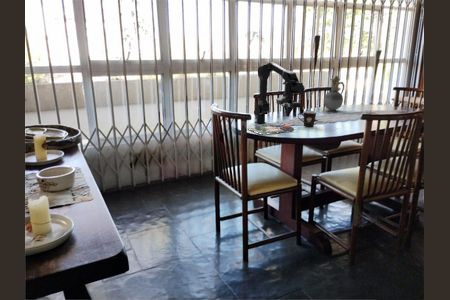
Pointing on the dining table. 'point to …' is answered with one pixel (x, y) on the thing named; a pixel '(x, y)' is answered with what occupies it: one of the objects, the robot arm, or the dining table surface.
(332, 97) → the pitcher
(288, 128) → the button
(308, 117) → the coffee mug
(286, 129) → the button housing
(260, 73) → the robot arm
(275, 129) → the colouring board
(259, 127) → the marker
